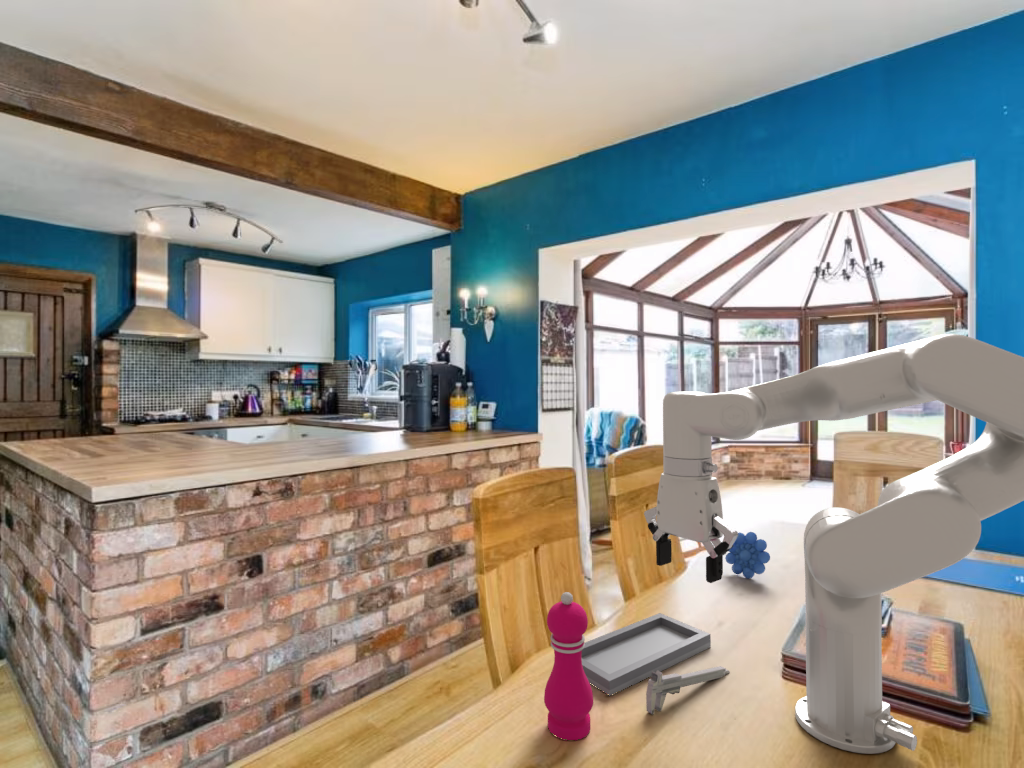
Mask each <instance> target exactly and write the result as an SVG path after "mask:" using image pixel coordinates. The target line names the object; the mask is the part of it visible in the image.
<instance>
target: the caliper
mask: <svg viewBox="0 0 1024 768" xmlns="http://www.w3.org/2000/svg"><path fill="white" fill-rule="evenodd" d="M727 674H730V670H729V669H727V668H726V667H724V666H722V665H719V666H715V667H710V668H705V669H701V670H696V671H691V672H688V673H683V674H679V673H671V674H666V675H663V671H661V672H660V671H658V670H657V672H656V673H654V672H653V671H652V675H651V677H650V679H649V678H648V681H647V685H646V691H645V693H646V694H645V695H646V697H645V699H646V704H645V705H646V712H648V713H649V714H651V715H654V714H655V711H657V712H661V711H662V710H663V707H664V704H665V700H666V696H667V694H671V695H675V694H679V693H680V691H681V688H684V687H687V686H693V685H697V684H701V683H704V682H705V683H706V682H709V681H713V680H719V679H721V678H723V677H724V676H726V675H727ZM655 709H656V710H655Z"/></svg>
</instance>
